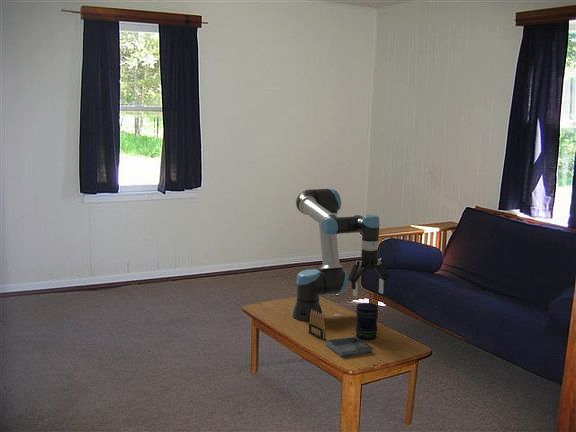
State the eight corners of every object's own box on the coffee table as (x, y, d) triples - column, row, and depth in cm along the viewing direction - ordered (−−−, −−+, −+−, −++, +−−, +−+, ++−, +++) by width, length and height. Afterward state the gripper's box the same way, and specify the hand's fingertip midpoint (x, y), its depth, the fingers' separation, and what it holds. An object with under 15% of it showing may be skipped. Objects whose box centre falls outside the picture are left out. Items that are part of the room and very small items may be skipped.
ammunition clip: (325, 339, 302) (326, 314, 300) (322, 340, 301) (323, 314, 299) (311, 332, 311) (312, 308, 309) (308, 333, 310) (309, 308, 308)
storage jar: (371, 332, 312) (372, 302, 309) (380, 339, 303) (381, 308, 300) (352, 334, 309) (353, 303, 306) (360, 341, 300) (361, 310, 297)
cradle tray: (325, 345, 294) (326, 340, 293) (355, 341, 300) (355, 336, 299) (341, 357, 280) (341, 351, 280) (372, 352, 286) (372, 347, 286)
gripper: (349, 253, 290) (347, 299, 294) (397, 249, 300) (395, 294, 304) (341, 249, 297) (340, 294, 301) (389, 245, 307) (387, 289, 310)
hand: (368, 294), depth 302 cm, fingers open, 13 cm apart
